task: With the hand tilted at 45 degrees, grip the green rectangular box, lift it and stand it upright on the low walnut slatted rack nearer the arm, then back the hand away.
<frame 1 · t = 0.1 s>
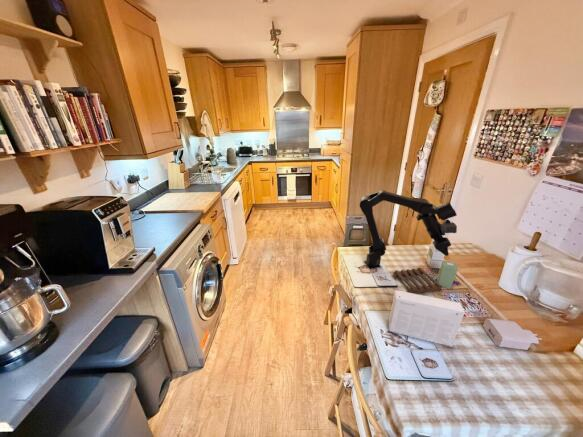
hand: (444, 250, 111), 15 cm above the table, tool tilted 35°, fingers open, 9 cm apart
charger: (512, 339, 84), on the table
rack: (415, 282, 112), on the table
syrup box: (432, 265, 125), on the table
green rectangular box: (443, 283, 111), on the table
skincare box: (418, 333, 86), on the table
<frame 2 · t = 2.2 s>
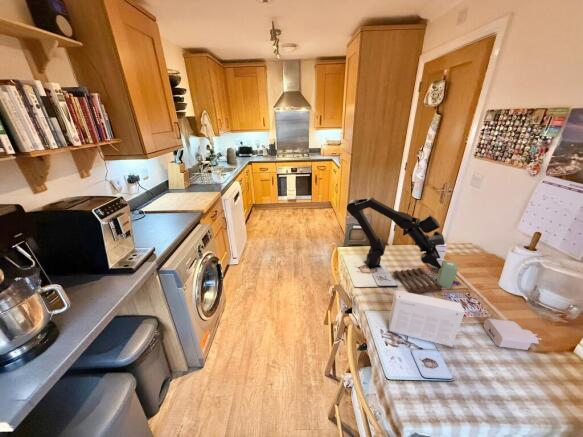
hand: (439, 262, 108), 11 cm above the table, tool tilted 45°, fingers open, 9 cm apart
nothing on the table moved.
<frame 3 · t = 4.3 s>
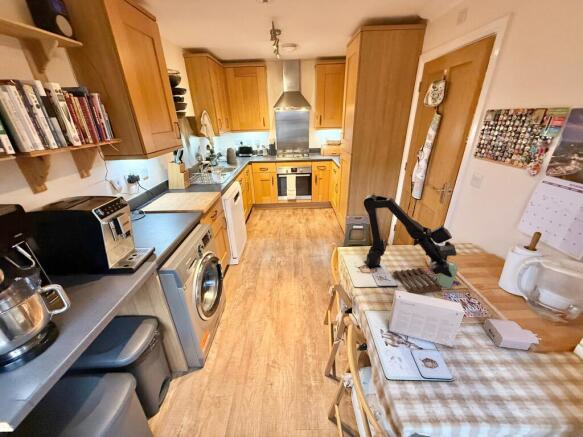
hand: (450, 273, 108), 7 cm above the table, tool tilted 45°, fingers closed on green rectangular box, 5 cm apart
green rectangular box: (443, 283, 111), on the table, touching gripper
everything else where it was.
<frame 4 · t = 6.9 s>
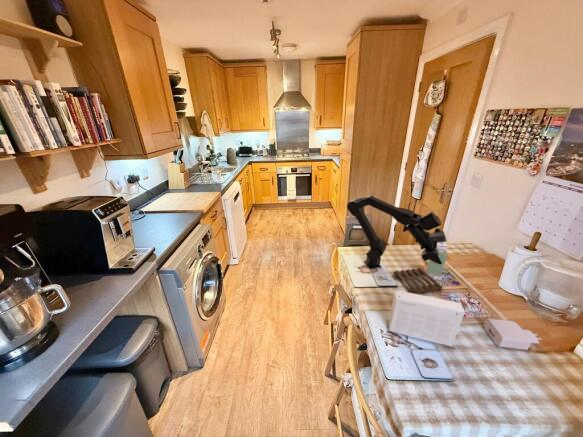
hand: (440, 260, 106), 13 cm above the table, tool tilted 45°, fingers closed on green rectangular box, 5 cm apart
green rectangular box: (433, 271, 109), point 7 cm above the table, touching gripper
everything else where it was.
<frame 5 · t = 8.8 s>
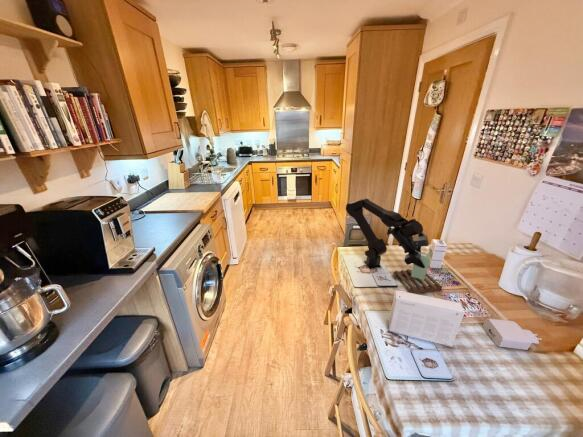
hand: (424, 264, 106), 11 cm above the table, tool tilted 45°, fingers closed on green rectangular box, 5 cm apart
green rectangular box: (417, 274, 110), point 5 cm above the table, touching gripper
everything else where it was.
when the fingers open (10 cm above the table, at t = 9.9 s): green rectangular box stays where it is, resting on rack.
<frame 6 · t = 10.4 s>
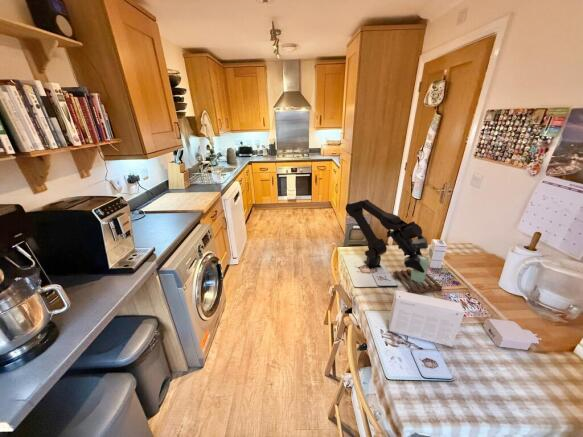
hand: (423, 266, 107), 10 cm above the table, tool tilted 45°, fingers open, 9 cm apart
green rectangular box: (417, 278, 110), point 3 cm above the table, touching rack
everything else where it was.
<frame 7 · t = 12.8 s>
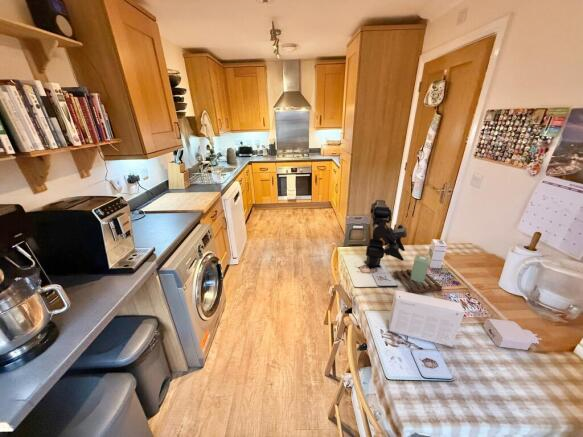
hand: (403, 255, 112), 12 cm above the table, tool tilted 45°, fingers open, 9 cm apart
nothing on the table moved.
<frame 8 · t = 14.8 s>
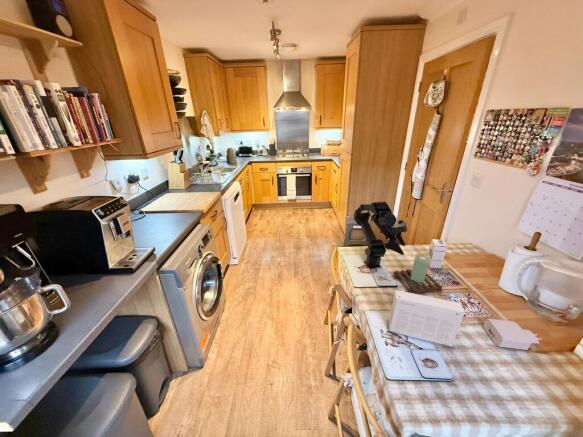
hand: (404, 249, 114), 14 cm above the table, tool tilted 45°, fingers open, 9 cm apart
nothing on the table moved.
at the end: green rectangular box inside the target area on the rack (0.0 cm from its centre), point 3.0 cm above the rack's base; green rectangular box tilted 0°; the gripper is holding nothing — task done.
